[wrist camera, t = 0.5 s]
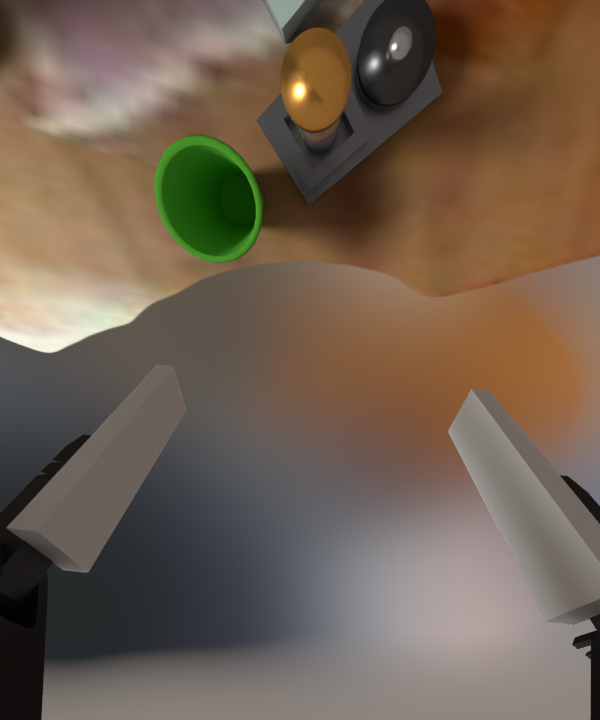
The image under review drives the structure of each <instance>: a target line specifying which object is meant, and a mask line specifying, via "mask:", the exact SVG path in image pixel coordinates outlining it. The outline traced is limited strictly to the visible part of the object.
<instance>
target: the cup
mask: <svg viewBox="0 0 600 720" xmlns="http://www.w3.org/2000/svg"><path fill="white" fill-rule="evenodd" d="M155 198H156V203H157V208H158V211H159V214H160V216H161V218H162V221H163V223H164V225H165V226H166V228H167V230H168V231H169V233H170V234H171V236H172V237H173V238H174V239H175V240H176V241H177V242H178V243H179V245H180V246H181V247H183V248H184V249H185V250H187V251H188V252H189V253H191V254H192V255H194V256H196V257H198V258H200V259H202V260H205V261H210V262H215V263H222V262H229V261H233V260H236V259H238V258H240V257H241V256H243V255H244V254H245V253H247V252H248V251H249V249H250V248H251V247H252V246H253V245H254V243H255V241H256V239H257V237H258V235H259V233H260V229H261V224H262V219H263V211H264V197H263V193H262V191H261V188H260V187H259V185H258V184H257V181H256V179H255V177H254V175H253V172H252V171H251V169H250V168H249V166H248V165H247V163H246V162H245V161H244V159H243V158H242V157H241V156H240V155H239V154H238V153H237V152H236V151H235V150H234V149H233V148H232V147H230V146H229V145H227V144H225V143H224V142H222V141H220V140H218V139H216V138H213V137H209V136H205V135H192V136H186V137H184V138H181V139H179V140H177V141H175V142H174V143H173V144H172V145H171V146H170V147H169V148H168V149H167V150H166V151H165V152H164V154H163V156H162V157H161V159H160V161H159V163H158V166H157V170H156V175H155Z"/></svg>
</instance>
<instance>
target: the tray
mask: <svg viewBox="0 0 600 720" xmlns="http://www.w3.org/2000/svg"><path fill="white" fill-rule="evenodd" d="M321 1H322V0H264V2H265V4H266V6H267V8H268V10H269V12H270V14H271V16H272V18H273V20H274V22H275V23H276V25H277V27H278V29H279V31H280V33H281V35H282V37H283V39H284V41H285V43H286V42H287V41H288V40H289V39H290V38H291V36H292V35H293V34H294V33H295V32H296V30H297V29H298V28H299V27H300V26H301V25H302V23H303V22H304V21H305V20H306V19H307V17H308V16H309V15H310V14H311V13H312V11H313V10H314V9H315V8H316V7H317V5H318V4H319V3H320V2H321Z"/></svg>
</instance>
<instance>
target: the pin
mask: <svg viewBox="0 0 600 720" xmlns="http://www.w3.org/2000/svg"><path fill="white" fill-rule="evenodd" d="M280 83H281V93H282V98H283V102H284V104H285V107H286V109H287V111H288V113H289V115H290V117H291V119H292V120H293V122H294V123H295V124H296V125H297V126H298V128H299V131H300V133H301V136H302V138H303V140H304V143H305V145H306V146H307V148H308V149H309V150H310V151H311V152H313V153H316V154H322V153H325V152H326V151H328V150H329V149H330V148H331V147H332V145H333V144H334V141H335V139H336V134H337V130H338V125H339V121H340V117H341V115H342V113H343V111H344V109H345V107H346V104H347V100H348V96H349V92H350V87H351V65H350V60H349V56H348V53H347V50H346V48H345V46H344V44H343V43H342V41H341V40H340V39H339V38H338V37H337V35H335V34H334V33H333V32H331V31H329V30H327V29H324V28H311V29H308V30H306V31H304V32H302V33H301V34H300V35H299V36H298V37H297V38H296V39H295V40H294V41H293V42H292V44H291V45H290V47H289V49H288V50H287V53H286V55H285V58H284V61H283V64H282V69H281V82H280Z"/></svg>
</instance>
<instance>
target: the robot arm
mask: <svg viewBox="0 0 600 720" xmlns="http://www.w3.org/2000/svg"><path fill="white" fill-rule="evenodd" d="M185 411H186V407H185V404H184V400H183V397H182V394H181V390H180V387H179V384H178V380H177V377H176V374H175V370H174V367H173V366H162V365H156V366H155V368H154V369H153V370H152V371H151V372H150V373H149V374H148V375H147V376H146V377H145V378H144V380H143V381H142V382H141V383H140V384H139V385H138V386H137V387H136V388H135V389H134V390H133V391H132V393H131V394H130V395H129V396H128V397H127V398H126V399H125V400H124V401H123V402H122V403H121V404H120V405H119V406H118V408H117V409H116V410H115V411H114V412H113V413H112V414H111V415H110V416H109V417H108V419H107V420H106V421H105V422H104V423H103V424H102V425H101V426H100V427H99V428H98V429H97V430H96V431H95V432H94V434H93V435H82V436H81V437H79V438H78V439H76V440H75V441H73V442H72V443H70V444H69V445H67V446H66V447H65V448H64V449H63V450H62V451H61V452H60V453H59V454H58V455H57V456H56V457H55V458H54V459H53V460H52V463H50V464H48V465H47V466H46V467H45V468H44V469H43V470H42V471H41V473H40V475H39V476H36V477H35V478H34V479H33V481H31V482H30V483H29V484H28V485H27V486H26V488H24V490H23V491H22V492H21V493H20V494H19V495H18V496H17V497H16V498H15V499H14V500H13V501H12V502H11V503H10V504H9V505H8V506H7V507H6V508H5V509H4V510H3V511H2V512H1V513H0V720H41V715H42V696H43V676H44V656H45V638H46V618H47V599H48V598H47V597H48V576H47V573H46V572H47V570H48V569H49V567H50V566H51V565H52V563H54V564H56V565H57V566H58V567H60V568H61V569H63V570H68V571H78V572H89V570H90V568H91V567H92V565H93V563H94V562H95V560H96V558H97V557H98V555H99V554H100V552H101V550H102V548H103V547H104V545H105V543H106V542H107V540H108V539H109V537H110V535H111V534H112V532H113V530H114V529H115V527H116V525H117V524H118V522H119V521H120V519H121V517H122V516H123V514H124V512H125V510H126V509H127V507H128V506H129V504H130V502H131V501H132V499H133V497H134V496H135V494H136V492H137V491H138V489H139V487H140V486H141V484H142V483H143V481H144V479H145V478H146V476H147V474H148V473H149V471H150V469H151V468H152V466H153V464H154V463H155V461H156V459H157V458H158V456H159V454H160V453H161V451H162V449H163V448H164V446H165V444H166V443H167V441H168V439H169V438H170V436H171V435H172V433H173V431H174V430H175V428H176V426H177V425H178V423H179V421H180V420H181V418H182V416H183V415H184V413H185ZM448 432H449V434H450V436H451V438H452V440H453V442H454V444H455V446H456V448H457V450H458V452H459V454H460V456H461V458H462V460H463V462H464V464H465V466H466V468H467V469H468V471H469V473H470V475H471V477H472V479H473V481H474V483H475V485H476V487H477V489H478V491H479V493H480V495H481V497H482V498H483V500H484V503H485V505H486V506H487V508H488V510H489V512H490V514H491V516H492V518H493V520H494V522H495V524H496V526H497V528H498V530H499V532H500V534H501V536H502V538H503V539H504V541H505V543H506V545H507V547H508V549H509V551H510V553H511V555H512V557H513V559H514V561H515V563H516V565H517V567H518V569H519V571H520V572H521V574H522V576H523V578H524V580H525V582H526V584H527V586H528V588H529V590H530V592H531V594H532V596H533V598H534V600H535V602H536V603H537V606H538V608H539V610H540V611H541V613H542V615H543V617H544V619H545V621H548V622H556V623H566V624H577V623H579V622H582V621H585V620H588V619H590V620H591V621H592V623H593V624H594V626H595V628H596V629H597V630H596V631H593V632H590V633H587V634H584V635H581V636H578V637H576V638H575V639H574V642H573V646H575V647H576V648H577V649H579V648H583V647H586V646H590V645H591V651H589V652H587V653H586V656H587V657H589V658H590V659H591V720H600V506H599V505H598V504H597V503H596V502H595V501H594V499H593V498H592V497H591V496H590V495H589V493H588V492H587V491H585V490H584V489H583V488H582V487H580V486H579V485H578V484H577V483H576V482H574V481H573V480H572V479H571V478H569V477H568V476H561V475H559V474H558V473H557V471H556V470H555V469H554V468H553V467H552V466H551V464H550V463H549V462H548V461H547V459H546V458H545V457H544V456H543V455H542V453H541V452H540V451H539V450H538V448H537V447H536V446H535V445H534V444H533V442H532V441H531V440H530V439H529V437H528V436H527V435H526V434H525V433H524V432H523V430H522V429H521V428H520V427H519V425H518V424H517V423H516V422H515V420H514V419H513V418H512V417H511V416H510V414H509V413H508V412H507V411H506V410H505V408H504V407H503V406H502V405H501V403H500V402H499V401H498V400H497V399H496V397H495V396H494V395H493V394H492V392H491V391H490V390H478V389H471V391H470V393H469V395H468V396H467V398H466V400H465V402H464V404H463V405H462V407H461V409H460V411H459V413H458V415H457V416H456V418H455V420H454V422H453V423H452V426H451V427H450V429H449V431H448Z"/></svg>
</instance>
